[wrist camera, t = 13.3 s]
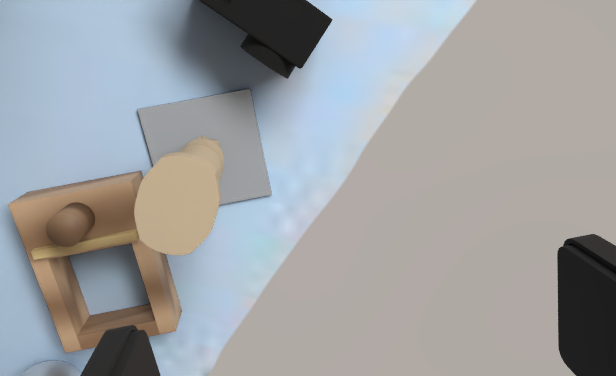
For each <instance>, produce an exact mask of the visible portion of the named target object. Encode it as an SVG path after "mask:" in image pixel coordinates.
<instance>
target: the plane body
mask: <svg viewBox="0 0 616 376" xmlns="http://www.w3.org/2000/svg"><path fill="white" fill-rule="evenodd" d="M142 180H143V175H142V172H141V171H137V172H132V173H127V174H121V175H116V176H111V177H105V178H100V179H95V180H89V181H84V182H79V183H73V184H68V185H63V186H57V187H52V188H47V189H41V190H36V191H31V192H27V193H26V194H24V195H22V196H21V197H19V198H18V199H16V200H14V201H13V202H11V203H10V204H8V205H9V208H10V211H11V213H12V216H13V218H14V221H15V224H16V226H17V229H18V231H19V234H20V236H21V239H22V242H23V244H24V247H25V249H26V252H27V254H28V257H29V260H30V262H31V265H32V267H33V270H34V272H35V275H36V278H37V280H38V283H39V285H40V288H41V291H42V293H43V296H44V298H45V301H46V303H47V306H48V309H49V311H50V314H51V316H52V319H53V321H54V324H55V327H56V329H57V332H58V334H59V337H60V340H61V342H62V345H63V347H64V350H65V352H66V353H68V352H73V351H78V350H83V349H88V348H93V347H97V345H98V343H99V341H100V340H101V338H102V336H103V334H104V333H105V331H106V330H109V329H114V328H119V327H124V326H129V325H134V326H136V328H137V329H138V330H145V332H146V333H147V336H148V337H149V336H154V335H159V334H164V333H169V332H174V331H176V328H177V325H178V322H179V319H180V316H181V312H182V310H181V306H180V303H179V299H178V296H177V293H176V289H175V286H174V282H173V279H172V275H171V272H170V268H169V265H168V262H167V258H166V255H165V254H164V253H161V252H158V251H156V250H154V249H152V248H150V247H148V246H147V245H146V244H144V243H143V242H142V241H141V240H140V238H139V234H138V230H137V226H136V222H135V216H134V208H135V202H136V198H137V194H138V190H139V187H140V184H141V182H142ZM130 243H132V246H133V250H134V253H135V256H136V259H137V262H138V266H139V269H140V272H141V275H142V279H143V282H144V285H145V288H146V291H147V295H148V298H149V301H150V304H147V305H142V306H137V307H132V308H127V309H121V310H116V311H111V312H106V313H101V314H96V315H91V316H90V314H89V312H88V309H87V306H86V303H85V301H84V298H83V295H82V292H81V289H80V287H79V284H78V281H77V278H76V275H75V273H74V270H73V267H72V264H71V262H70V259H69V256H68V255H73V254H78V253H83V252H89V251H94V250H99V249H104V248H109V247H115V246H120V245H125V244H130Z"/></svg>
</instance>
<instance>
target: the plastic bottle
mask: <svg viewBox="0 0 616 376" xmlns="http://www.w3.org/2000/svg"><path fill="white" fill-rule="evenodd" d="M80 375H81V373H80V372H79V371H78V370H77V369H76V368H75V367H74V366H72V365H70V364H68V363H66V362H62V361H46V362H41V363H38V364H35V365H33V366H32V367H30V368H29V369H28V370H27V371H25V372H24V373H23V374H22V375H21V376H80Z"/></svg>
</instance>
